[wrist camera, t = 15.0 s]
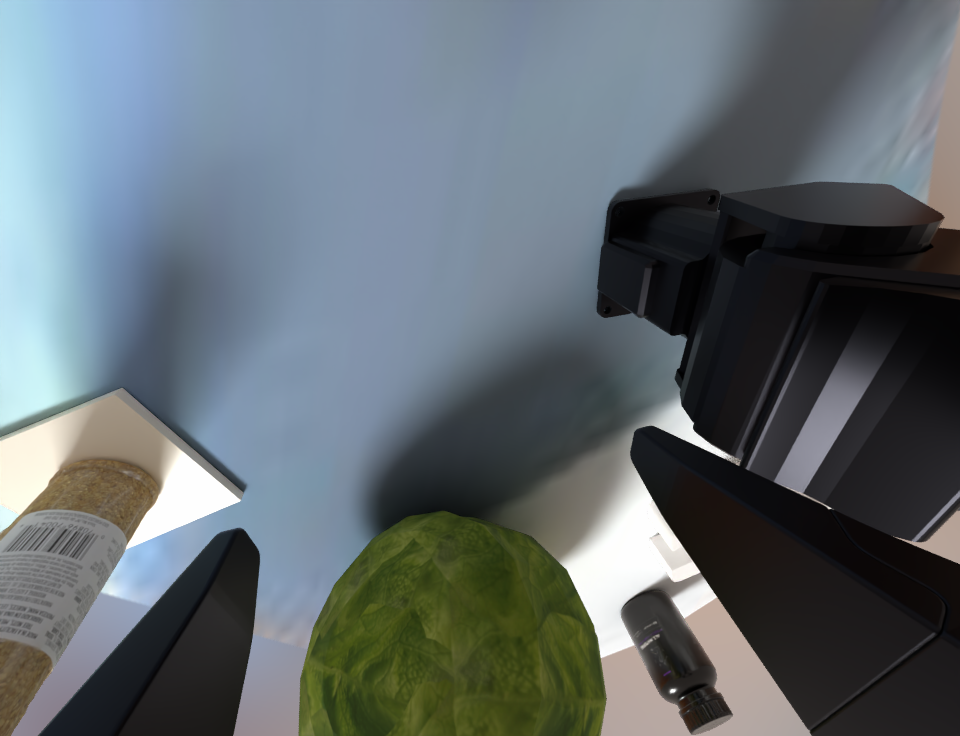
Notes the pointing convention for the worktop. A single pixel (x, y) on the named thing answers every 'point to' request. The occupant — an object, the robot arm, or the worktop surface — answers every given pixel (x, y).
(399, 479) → the worktop surface
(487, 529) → the lettuce
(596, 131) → the worktop surface
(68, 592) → the sprinkles bottle
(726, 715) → the supplement bottle
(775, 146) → the worktop surface
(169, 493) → the pad
